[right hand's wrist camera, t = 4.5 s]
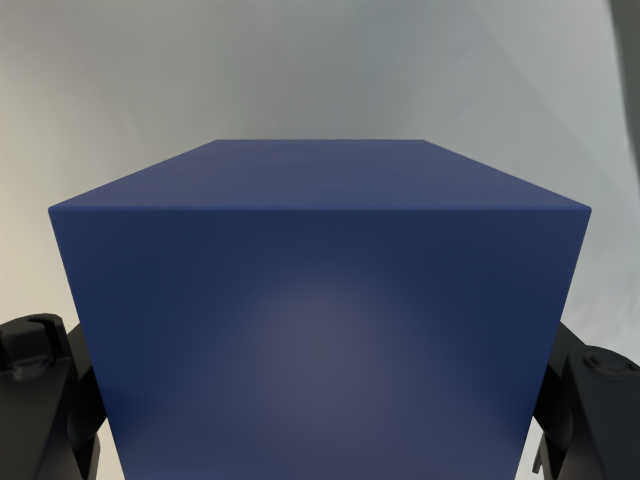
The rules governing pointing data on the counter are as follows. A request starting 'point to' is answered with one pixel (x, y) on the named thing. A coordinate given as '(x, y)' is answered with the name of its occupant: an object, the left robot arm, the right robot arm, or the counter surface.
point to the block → (319, 310)
